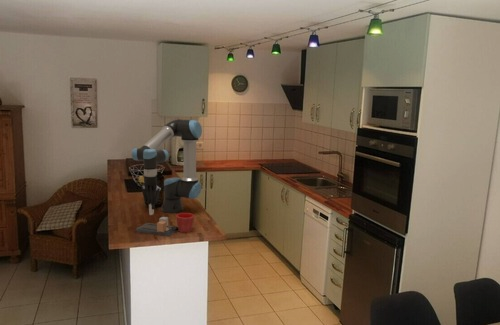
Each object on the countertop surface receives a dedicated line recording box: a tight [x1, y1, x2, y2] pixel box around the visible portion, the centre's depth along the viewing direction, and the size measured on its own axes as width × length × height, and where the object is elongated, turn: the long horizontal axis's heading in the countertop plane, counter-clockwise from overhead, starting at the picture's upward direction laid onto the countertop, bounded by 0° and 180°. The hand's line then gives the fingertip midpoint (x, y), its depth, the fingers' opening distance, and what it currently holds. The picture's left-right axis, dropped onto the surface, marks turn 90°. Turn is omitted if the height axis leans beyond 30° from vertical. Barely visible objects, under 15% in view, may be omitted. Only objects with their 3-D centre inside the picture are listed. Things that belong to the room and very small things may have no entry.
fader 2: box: [156, 221, 166, 232], centre depth 248 cm, size 4×4×5 cm
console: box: [135, 222, 179, 237], centre depth 254 cm, size 12×22×2 cm, turn 72°
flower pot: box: [175, 212, 195, 233], centre depth 255 cm, size 11×11×10 cm
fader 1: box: [158, 216, 169, 226], centre depth 256 cm, size 4×4×5 cm
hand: (151, 214), depth 250 cm, fingers closed
